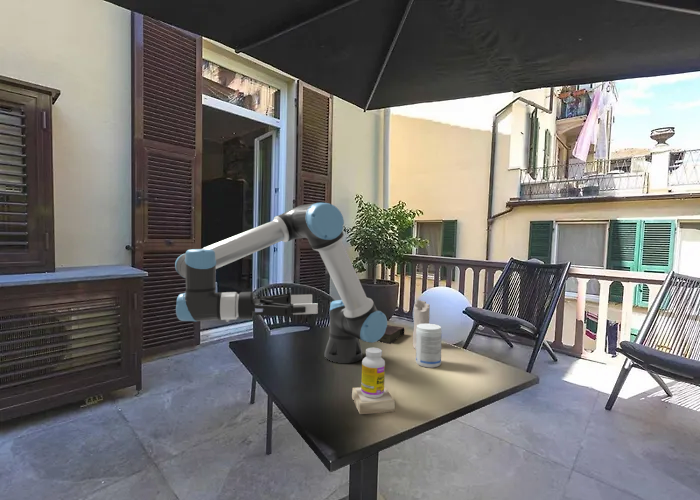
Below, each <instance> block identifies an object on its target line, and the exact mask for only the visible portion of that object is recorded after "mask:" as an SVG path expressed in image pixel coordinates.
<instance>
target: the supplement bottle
mask: <svg viewBox="0 0 700 500" xmlns="http://www.w3.org/2000/svg"><path fill="white" fill-rule="evenodd" d="M382 356H383V351H382V349H381V348H378V347H368V348H366V349H365V357H364V358H362V359H361V360H362V361H361V381H360V383H361V385H360V387H361V392H362V394H363V395H364V396H366V397H369V398H378V397H381V396H382V395H383V394H384V386H385V374H386V372H385V371H386V361H385V359H384V358H382Z"/></svg>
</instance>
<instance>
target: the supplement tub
mask: <svg viewBox="0 0 700 500" xmlns="http://www.w3.org/2000/svg"><path fill="white" fill-rule="evenodd" d="M442 334H443V332H442V326H440V325H439V324H434V323H429V324H418V325H417V329H416V349H415V363H416V364H417V365H418V366H421V367H425V368H430V369H431V368H438V367H439V366H441V364H442V336H443V335H442Z"/></svg>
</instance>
